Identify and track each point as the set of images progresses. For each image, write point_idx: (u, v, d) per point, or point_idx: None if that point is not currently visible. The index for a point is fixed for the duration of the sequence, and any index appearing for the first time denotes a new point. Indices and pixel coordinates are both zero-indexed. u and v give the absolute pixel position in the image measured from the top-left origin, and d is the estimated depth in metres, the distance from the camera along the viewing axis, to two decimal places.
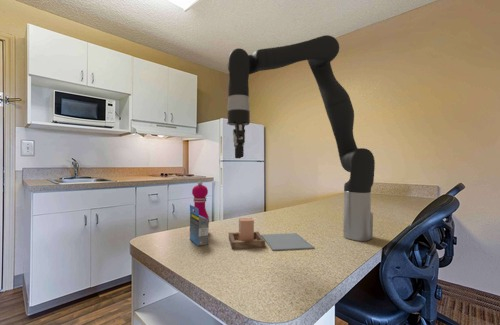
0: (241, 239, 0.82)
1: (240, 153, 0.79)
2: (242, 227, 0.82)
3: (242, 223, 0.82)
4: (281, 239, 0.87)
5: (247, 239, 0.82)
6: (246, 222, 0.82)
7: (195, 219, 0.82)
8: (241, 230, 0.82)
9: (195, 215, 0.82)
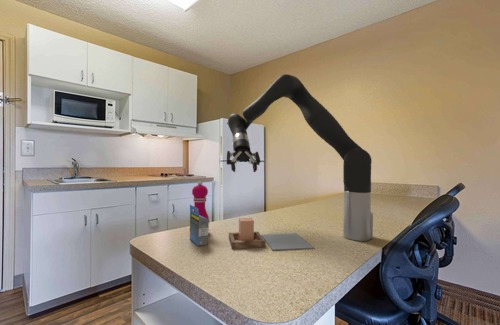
0: (241, 239, 0.82)
1: (232, 168, 1.00)
2: (242, 227, 0.82)
3: (242, 223, 0.82)
4: (281, 239, 0.87)
5: (247, 239, 0.82)
6: (246, 222, 0.82)
7: (196, 219, 0.82)
8: (241, 230, 0.82)
9: (195, 215, 0.82)
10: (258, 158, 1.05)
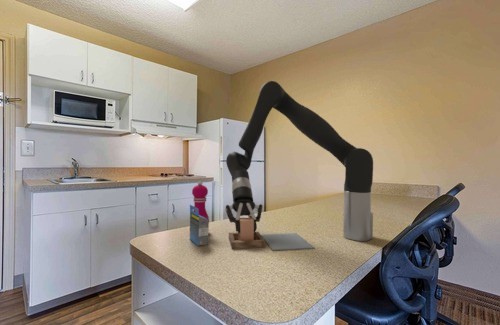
0: (241, 239, 0.82)
1: None
2: (242, 227, 0.82)
3: (242, 223, 0.82)
4: (281, 239, 0.87)
5: (247, 239, 0.82)
6: (246, 222, 0.82)
7: (195, 219, 0.82)
8: (241, 230, 0.82)
9: (195, 215, 0.82)
10: (259, 214, 0.87)
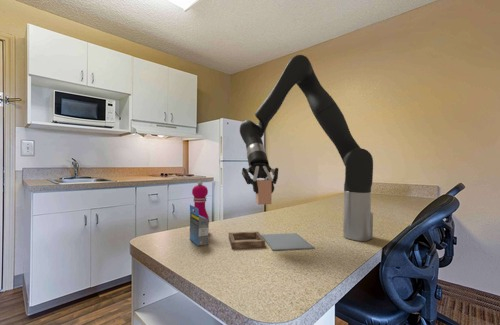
0: (259, 199, 0.82)
1: (254, 189, 0.83)
2: (260, 187, 0.82)
3: (260, 183, 0.82)
4: (281, 239, 0.87)
5: (265, 199, 0.82)
6: (264, 182, 0.82)
7: (195, 219, 0.82)
8: (259, 190, 0.82)
9: (195, 215, 0.82)
10: (276, 176, 0.87)
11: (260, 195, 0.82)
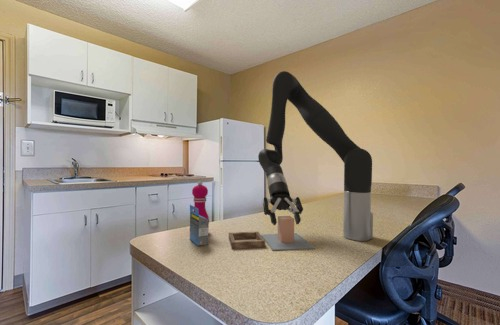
0: (282, 237, 0.83)
1: (272, 220, 0.85)
2: (283, 225, 0.83)
3: (283, 221, 0.83)
4: None
5: (288, 237, 0.84)
6: (287, 220, 0.84)
7: (195, 219, 0.82)
8: (282, 228, 0.83)
9: (195, 215, 0.82)
10: (300, 206, 0.89)
11: (283, 233, 0.83)
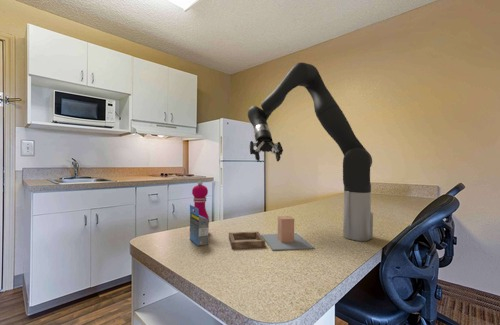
0: (282, 237, 0.83)
1: (256, 157, 1.03)
2: (283, 225, 0.83)
3: (283, 221, 0.83)
4: None
5: (288, 237, 0.84)
6: (287, 220, 0.84)
7: (195, 219, 0.82)
8: (282, 228, 0.83)
9: (195, 215, 0.82)
10: (281, 148, 1.07)
11: (283, 233, 0.83)
